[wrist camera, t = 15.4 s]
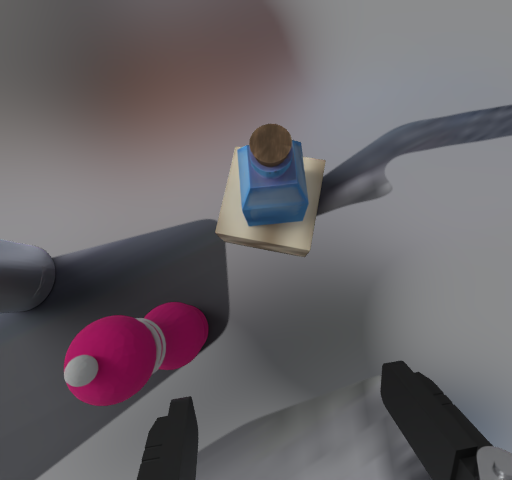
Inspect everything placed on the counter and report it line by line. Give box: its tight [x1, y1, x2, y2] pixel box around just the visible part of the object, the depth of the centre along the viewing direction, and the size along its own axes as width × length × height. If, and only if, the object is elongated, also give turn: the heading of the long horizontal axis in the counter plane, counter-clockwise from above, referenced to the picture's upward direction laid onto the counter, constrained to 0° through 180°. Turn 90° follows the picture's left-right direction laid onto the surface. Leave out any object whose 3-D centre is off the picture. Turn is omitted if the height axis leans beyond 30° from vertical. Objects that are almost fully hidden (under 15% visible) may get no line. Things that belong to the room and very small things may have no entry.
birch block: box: [215, 147, 325, 257], centre depth 35 cm, size 11×11×6 cm
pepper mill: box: [64, 302, 208, 406], centre depth 26 cm, size 7×7×20 cm
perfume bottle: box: [237, 124, 309, 226], centre depth 26 cm, size 6×6×12 cm
